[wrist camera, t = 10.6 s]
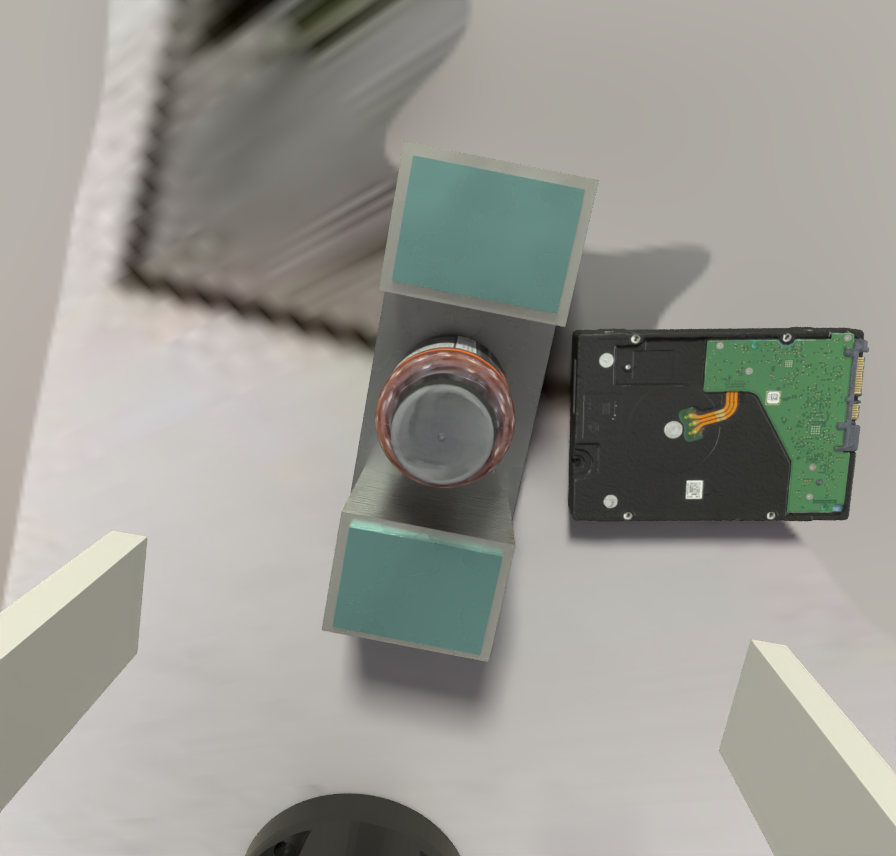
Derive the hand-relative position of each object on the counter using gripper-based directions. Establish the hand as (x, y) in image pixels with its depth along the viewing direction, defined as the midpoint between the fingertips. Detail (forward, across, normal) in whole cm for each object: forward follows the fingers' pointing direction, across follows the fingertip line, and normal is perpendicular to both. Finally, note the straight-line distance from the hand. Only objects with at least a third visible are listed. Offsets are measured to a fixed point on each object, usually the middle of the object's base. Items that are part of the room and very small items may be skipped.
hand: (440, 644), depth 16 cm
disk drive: (+26, -14, -2) cm, 29 cm away
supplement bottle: (+24, 0, -2) cm, 24 cm away
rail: (+25, 0, -1) cm, 25 cm away
